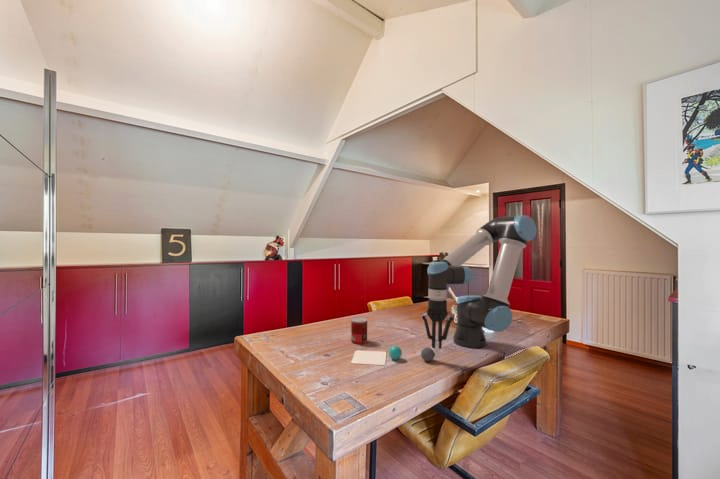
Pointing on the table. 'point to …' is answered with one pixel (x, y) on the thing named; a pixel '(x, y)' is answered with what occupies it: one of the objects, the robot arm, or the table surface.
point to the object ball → (395, 352)
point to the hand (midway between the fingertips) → (436, 355)
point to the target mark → (369, 357)
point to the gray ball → (427, 354)
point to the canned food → (359, 330)
